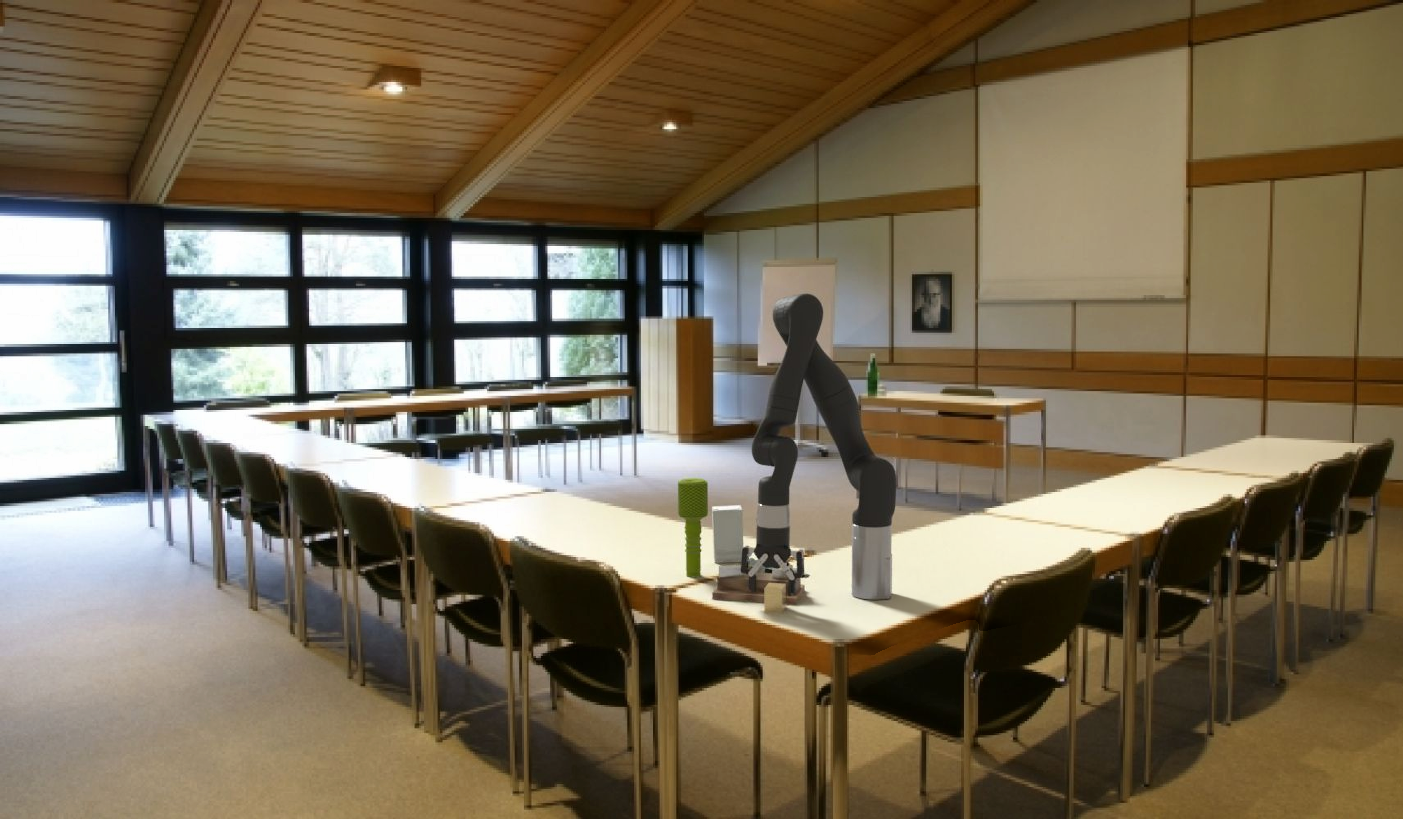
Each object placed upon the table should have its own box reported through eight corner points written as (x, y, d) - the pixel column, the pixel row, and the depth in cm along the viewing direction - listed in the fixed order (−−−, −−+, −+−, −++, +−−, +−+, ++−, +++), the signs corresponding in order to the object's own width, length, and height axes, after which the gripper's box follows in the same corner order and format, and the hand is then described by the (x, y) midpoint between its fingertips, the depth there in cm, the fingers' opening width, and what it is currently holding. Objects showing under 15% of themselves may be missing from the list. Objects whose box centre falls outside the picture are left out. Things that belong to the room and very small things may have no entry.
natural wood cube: (768, 606, 232) (768, 582, 232) (785, 607, 231) (785, 583, 231) (764, 612, 228) (764, 588, 227) (781, 613, 227) (781, 589, 226)
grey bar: (798, 577, 240) (798, 568, 240) (795, 582, 236) (795, 572, 236) (720, 572, 245) (720, 563, 244) (716, 577, 241) (716, 568, 240)
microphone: (702, 580, 255) (701, 482, 253) (674, 577, 258) (673, 480, 255) (712, 572, 263) (712, 477, 260) (685, 570, 265) (684, 475, 263)
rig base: (804, 590, 245) (804, 572, 244) (796, 604, 233) (796, 585, 233) (724, 585, 250) (724, 567, 250) (712, 598, 238) (712, 580, 238)
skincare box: (742, 557, 278) (742, 504, 277) (744, 563, 272) (744, 508, 271) (712, 558, 278) (711, 505, 277) (713, 563, 272) (712, 509, 271)
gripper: (807, 522, 230) (805, 592, 231) (746, 518, 234) (745, 587, 235) (801, 528, 223) (799, 600, 224) (738, 524, 227) (737, 595, 228)
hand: (771, 593), depth 230 cm, fingers open, 8 cm apart
